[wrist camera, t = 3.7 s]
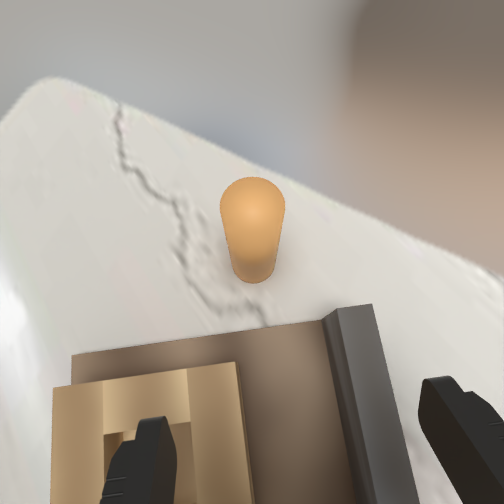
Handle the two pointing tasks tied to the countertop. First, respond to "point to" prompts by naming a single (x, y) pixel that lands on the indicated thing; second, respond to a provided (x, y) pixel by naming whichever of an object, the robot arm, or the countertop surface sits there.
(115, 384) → the socket block
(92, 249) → the countertop surface
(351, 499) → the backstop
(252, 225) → the dowel
